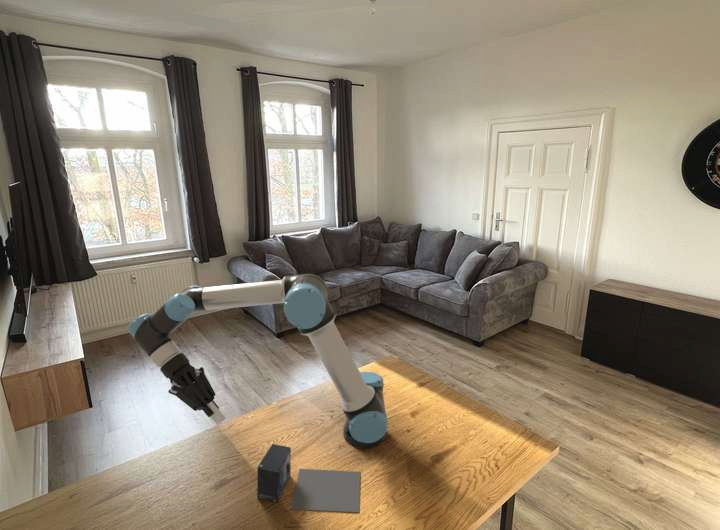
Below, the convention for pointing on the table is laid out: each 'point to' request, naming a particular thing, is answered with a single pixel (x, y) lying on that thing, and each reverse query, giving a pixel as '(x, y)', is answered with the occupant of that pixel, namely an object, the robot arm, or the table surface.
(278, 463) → the small box
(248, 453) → the table surface
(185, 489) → the table surface
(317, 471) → the mat
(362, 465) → the table surface
